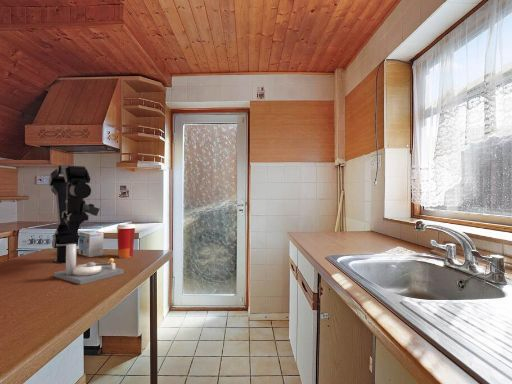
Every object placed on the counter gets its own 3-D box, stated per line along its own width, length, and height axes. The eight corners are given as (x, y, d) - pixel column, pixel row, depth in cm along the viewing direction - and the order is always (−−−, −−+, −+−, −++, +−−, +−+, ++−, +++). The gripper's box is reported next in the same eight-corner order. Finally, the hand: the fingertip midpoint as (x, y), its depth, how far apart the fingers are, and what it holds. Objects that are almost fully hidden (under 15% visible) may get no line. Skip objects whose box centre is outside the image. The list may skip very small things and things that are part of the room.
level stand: (54, 276, 104) (54, 261, 104) (97, 267, 118) (97, 254, 118) (80, 284, 97) (80, 268, 97) (123, 273, 111) (123, 259, 111)
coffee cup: (128, 254, 143) (129, 223, 143) (138, 256, 138) (139, 224, 138) (111, 256, 137) (112, 224, 136) (121, 259, 132) (122, 225, 132)
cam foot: (110, 267, 112) (111, 240, 112) (110, 273, 104) (111, 244, 104) (67, 270, 106) (68, 242, 106) (63, 277, 98) (64, 247, 98)
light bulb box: (78, 254, 141) (78, 231, 141) (92, 251, 146) (93, 230, 146) (89, 257, 135) (89, 233, 135) (103, 255, 140) (104, 232, 140)
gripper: (103, 198, 114) (102, 239, 114) (92, 197, 128) (91, 233, 128) (70, 198, 107) (69, 241, 107) (62, 197, 121) (61, 235, 121)
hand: (74, 237), depth 116 cm, fingers closed
